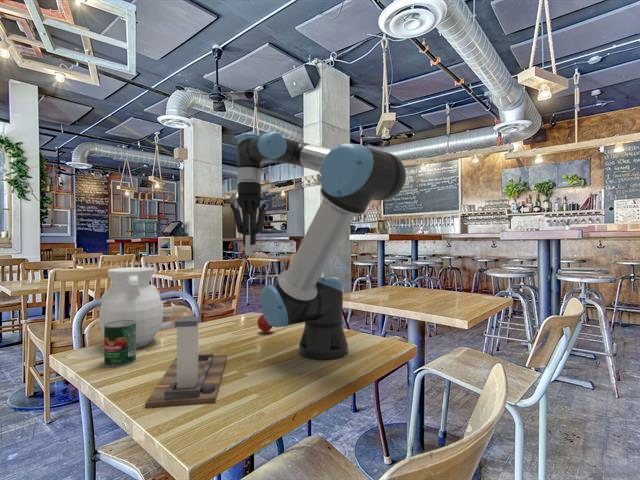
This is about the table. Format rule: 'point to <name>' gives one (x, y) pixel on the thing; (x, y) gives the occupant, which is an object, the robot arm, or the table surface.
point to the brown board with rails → (202, 393)
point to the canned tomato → (119, 343)
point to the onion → (263, 324)
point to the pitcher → (133, 302)
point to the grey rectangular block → (187, 351)
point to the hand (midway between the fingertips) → (249, 255)
